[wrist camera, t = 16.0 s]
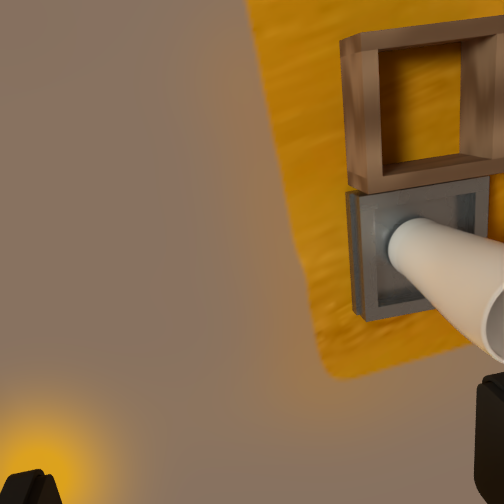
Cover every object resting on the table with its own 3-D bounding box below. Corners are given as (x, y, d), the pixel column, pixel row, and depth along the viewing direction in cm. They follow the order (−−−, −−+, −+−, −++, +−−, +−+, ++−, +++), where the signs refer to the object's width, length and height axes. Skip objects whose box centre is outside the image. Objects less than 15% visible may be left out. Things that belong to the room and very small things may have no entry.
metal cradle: (345, 192, 40) (355, 197, 38) (475, 171, 41) (492, 175, 39) (352, 310, 44) (362, 322, 42) (471, 288, 45) (487, 298, 43)
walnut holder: (339, 40, 36) (360, 32, 32) (475, 23, 38) (513, 13, 33) (348, 184, 40) (368, 194, 36) (472, 164, 41) (505, 172, 37)
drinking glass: (437, 284, 43) (563, 372, 29) (369, 277, 42) (467, 365, 28) (458, 213, 41) (603, 270, 27) (387, 203, 40) (501, 258, 26)
